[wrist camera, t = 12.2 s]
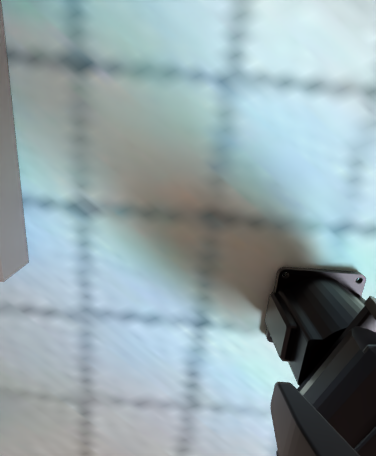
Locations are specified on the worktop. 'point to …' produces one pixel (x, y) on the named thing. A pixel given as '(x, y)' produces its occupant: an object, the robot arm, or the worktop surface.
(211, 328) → the worktop surface
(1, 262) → the dock
